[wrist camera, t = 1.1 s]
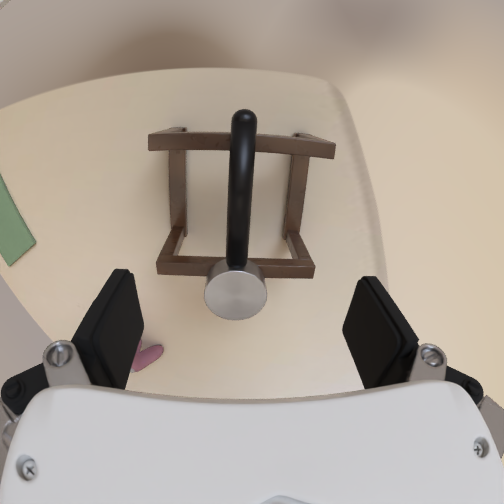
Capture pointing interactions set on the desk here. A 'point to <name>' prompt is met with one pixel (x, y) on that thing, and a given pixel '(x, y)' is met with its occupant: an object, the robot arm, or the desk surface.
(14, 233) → the mat
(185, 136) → the rack
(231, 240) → the grey saucepan
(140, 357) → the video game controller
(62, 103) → the desk surface
